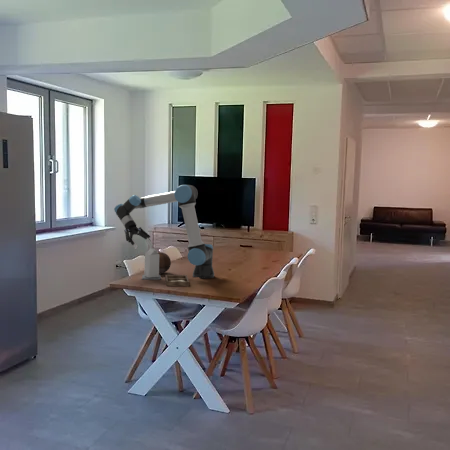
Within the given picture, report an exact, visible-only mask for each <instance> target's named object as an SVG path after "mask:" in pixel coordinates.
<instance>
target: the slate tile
mask: <svg viewBox="0 0 450 450" xmlns="http://www.w3.org/2000/svg"><path fill="white" fill-rule="evenodd" d="M161 279H162V278H161V274H159V277H152V278H149V277H146V276H144V274H142V275H141V280H142V281H143V280H146V281H147V280H148V281H151V280H155V281H157V280H158V281H159V280H161Z"/></svg>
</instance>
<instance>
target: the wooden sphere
mask: <svg viewBox="0 0 450 450" xmlns="http://www.w3.org/2000/svg"><path fill="white" fill-rule="evenodd" d="M157 253H158V254H159V274H165V273H166V272H168V270H169V269H170V268H171V265H172V262H171V258H170V256H169V255H168V254H166V253H165V252H162V251H159V252H157Z"/></svg>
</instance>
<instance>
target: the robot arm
mask: <svg viewBox="0 0 450 450" xmlns="http://www.w3.org/2000/svg"><path fill="white" fill-rule="evenodd" d="M198 194H199V193H198V189H197V188H196V187H195V186H194V185H191V184H181V185H179V186H177V187H176V188H175V190H174V191H169V192H163V193H157V194H151V195H147V196H146V195H145V196H142V197H139V196H138V195H137V194H133V195H131V196H130V197H129V198H128V199H127V200H126V201H125V202H124V203H119V204H117V205H116V206H115V207H114V209H113V211H114V212H115V215H116V216H117V217H118V219H119V220H120V222H121V224H122V225H123V226H124V228H125V229H123V230H124V234H125V240H126V242H128V243H130V244H131V246H133V248H134V250H137V249H138V248H139V246H138V244H137V243H136V241H135V239H133V236H135V235H137V236H139V237H141V238H143V239H144V240H145V242H146V243H147V245H148V246H149V249H150V248H153V246H154V244H153V243H152V240H151V239H150V238H151V235H150V234H148V233H147V232H146V231H145V230H144V229H143V228H142V227H141V226H139V227H137V224H136V222H135V221H134V218H133V217H132V215H131V213H132V212H133V211H134V210H135V209H144V208H149V207H155V206H159V205H166V204H171V203H175V202H176V203H177V204H178V207H179V208H181V213H182V216H183V221H184V225H185V226H184V227H185V231H186V235H187V240H188V245H187V249H188V250H187V251H188V253H187V260H188V262H189V263H190V264H191V265H192V266H194V269H193V272H192V277H193V278H199V279H213V278H215V271H214V267H213V255H214V254H213V253H214V246H213V245H212V244H210V243H208V244H207V243H205V242H204V241H203V240H202V236H201V231H200V226H199V221H198V217H197V213H196V208H195V206H196V204H197V202H196V199H198V196H199V195H198Z"/></svg>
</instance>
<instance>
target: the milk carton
mask: <svg viewBox="0 0 450 450" xmlns="http://www.w3.org/2000/svg"><path fill="white" fill-rule="evenodd" d="M157 251H158V250H156V248H154V247H151V248H150V247H149V249H148V250H147V251H146V252H145V253H144V268H143V269H144V272H143V275H144V276H146V277H149V278H152V277H159V275H160V273H159V254H158V252H157Z"/></svg>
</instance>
